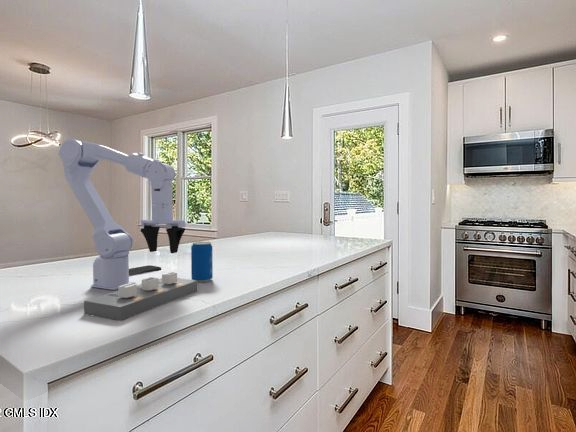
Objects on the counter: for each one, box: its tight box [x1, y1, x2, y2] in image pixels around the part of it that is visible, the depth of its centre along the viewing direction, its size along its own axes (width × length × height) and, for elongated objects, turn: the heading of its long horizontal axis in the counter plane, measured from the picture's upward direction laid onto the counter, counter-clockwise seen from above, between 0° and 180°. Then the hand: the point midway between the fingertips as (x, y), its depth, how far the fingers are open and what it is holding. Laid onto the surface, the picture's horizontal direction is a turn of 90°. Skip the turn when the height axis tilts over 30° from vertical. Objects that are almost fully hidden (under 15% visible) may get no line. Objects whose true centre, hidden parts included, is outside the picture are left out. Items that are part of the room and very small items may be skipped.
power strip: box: [83, 277, 199, 322], centre depth 89 cm, size 11×31×3 cm, turn 158°
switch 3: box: [161, 271, 178, 284], centre depth 93 cm, size 2×3×2 cm
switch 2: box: [141, 277, 159, 291], centre depth 86 cm, size 2×3×2 cm
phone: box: [129, 264, 162, 277], centre depth 122 cm, size 8×1×15 cm
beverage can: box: [190, 241, 214, 283], centre depth 109 cm, size 6×6×12 cm
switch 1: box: [117, 283, 138, 298], centre depth 80 cm, size 2×3×2 cm
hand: (163, 252), depth 100 cm, fingers open, 7 cm apart
